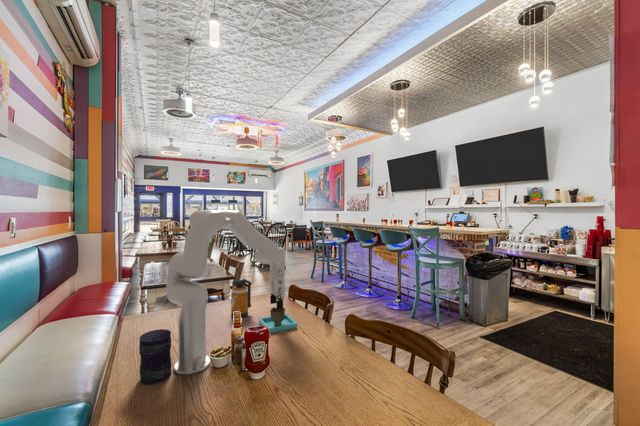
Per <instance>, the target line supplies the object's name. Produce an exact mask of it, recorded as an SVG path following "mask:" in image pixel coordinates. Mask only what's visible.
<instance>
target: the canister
mask: <svg viewBox="0 0 640 426" xmlns="http://www.w3.org/2000/svg"><path fill="white" fill-rule="evenodd" d="M231 284H233V285H234V286H232V288H231V293H230V307H231V308H230V312H231V313H230V316H231V317H233V312H234V311H240V312H241V317H240V318H243V317H247V315H249V309H250V308H251V307H252V303H251V302H252V301H251V300H252V299H251V298H252V297H251V292H252V291H251V287H252V284H253V283H252V282H251V281H250V280H247V279H245V278H243V279H238V280H237V279H235V280H234V281H232V282H231Z"/></svg>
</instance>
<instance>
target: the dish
mask: <svg viewBox="0 0 640 426" xmlns="http://www.w3.org/2000/svg"><path fill="white" fill-rule="evenodd" d="M258 324H259V325H260V326H261V325H263V326H267V327H268V328H269V330H270V334H269V335H271V334H275V333H276V334H277V333H281V332H286V331H290V330H296V329H298V322H296V320H294V319H293V318H292V317H291V316H290V315H288V313H285V315H284V319H283V321H282V322H281V325H279V326H276V325H274V322H273V321H272V319H271V315H270V316H265V317H259V318H258Z"/></svg>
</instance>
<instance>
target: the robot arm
mask: <svg viewBox="0 0 640 426" xmlns="http://www.w3.org/2000/svg"><path fill="white" fill-rule="evenodd" d="M188 222H189V225H190V229H189V230H188V232H187V234H186V236H185V241H184V247H183V251H179V252H177V253H175V254H174V255H173V256H172V257H171V258H170V260H169V263H168V266H167V274H166V275H167V276H166V286H165V294H166V297H167V299H168V301H170V303H172V304H175V305H178V306H179V307H180V311H179V314H178V318H177V340H178V341H177V344H178V348H177V349H178V350H177V351H178V353H177V354H178V356H177V357H178V360H177V361H176V362H175V363H174V364H173V365H174V366H173V371H174V372H175V373H176V374H178V375H192V374H197V373H199V372H201V371H204V370H205V369H207V368H208V367H209V366H210V364H211V358H210V357H209V356H208V355H207V353H206V352H207V345H206V343H207V341H206V340H207V339H206V335H207V333H206V330H207V329H206V328H207V327H206V326H207V325H206V318H207V317H206V313H207V312H206V310H207V305H208V299H209V293H208V292H209V291H208V290H207V287H205V285H203V284H202V283H199V282H197V281H192V279H200V278H202V277H203V276H204V275H205V273H206V271H207V264H208V253H209V245H210V244H209V243H210V241H211V239H212V237H213V236H214V235H215V234H216V233H217V232H218V231H220V230H227V231H228V230H229V231H230V232H231V233H232V235H234V236H235V237H236V238H237V239H238V241H240V243H241V244H243V245H244V246H246V247H247V248H250V249H253V250H256V251H255V252H254V255H253V257H254V260H255V261H256V262H257V263H259V264H263V265H269V276H270V280H269V281H270V283H269V292H270V294H269V295H270V298H269V300H270V305H271V304H276V307H277V309H283V308H284V298H285V297H284V296H285V295H286V281H285V273H286V272H285V270H286V267H285V266H286V250H285V248H284V247H280V246H279V247H278V246H277V244H276V243H275V242H274V241H273V240H272V239H270V238H268V237H267V236H266V235H264V234H263V233H261V232H259V231H258V230H257V229H256V228H255V227H254V226H253V225H252V223H251V222H250V221H249V220H248V219H247V217H246V216H245V215H244V214H243V213H242V212H241V211H239V210H236V209H232V210H227V209H225V210H223V209H221V210H219V209H218V210H215V209H201V210H200V209H198V210H195V211H193V212H192V213H191V214H190V216H189V221H188Z"/></svg>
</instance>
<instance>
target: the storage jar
mask: <svg viewBox="0 0 640 426" xmlns="http://www.w3.org/2000/svg"><path fill="white" fill-rule="evenodd" d="M171 333H172V332H171V330H169V329H164V328H162V329H155V330H150V331H148V332H144V333H143V334H142V335H140V336H139V340H138V341H139V346H138V347H139V348H138V349H139V351H138V352H139V356H140V363H139V377H140V378H139V383H140V384H141V385H144V386H154V385H157V384H160V383H162V382H165V381H167V380H168V379H169V378H170V377H171V375H172V357H171V348H172V336H171Z"/></svg>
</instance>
